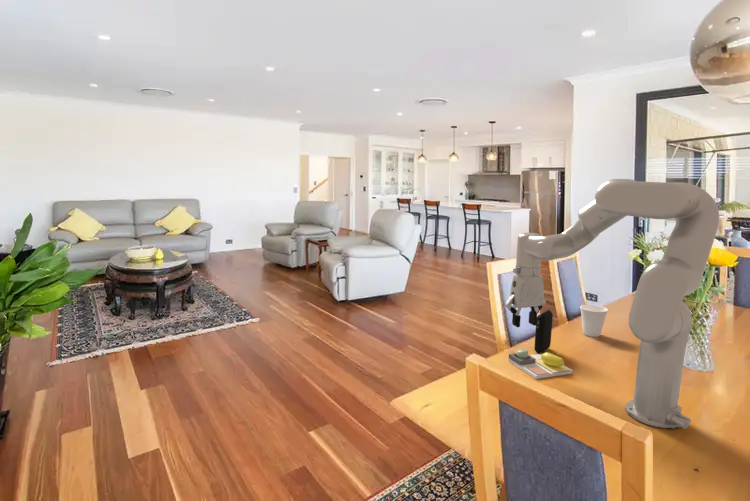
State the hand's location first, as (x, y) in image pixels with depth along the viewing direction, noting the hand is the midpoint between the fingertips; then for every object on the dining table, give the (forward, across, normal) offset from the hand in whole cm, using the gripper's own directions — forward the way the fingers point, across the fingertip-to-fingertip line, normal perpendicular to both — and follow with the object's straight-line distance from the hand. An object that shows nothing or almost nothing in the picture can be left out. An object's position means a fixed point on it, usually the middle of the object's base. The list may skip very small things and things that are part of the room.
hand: (524, 324), depth 141 cm
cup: (+14, +44, +16) cm, 49 cm away
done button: (+11, 0, 0) cm, 11 cm away
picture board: (+14, +4, -4) cm, 15 cm away
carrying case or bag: (+14, +13, +6) cm, 20 cm away
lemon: (+13, +7, -6) cm, 16 cm away
